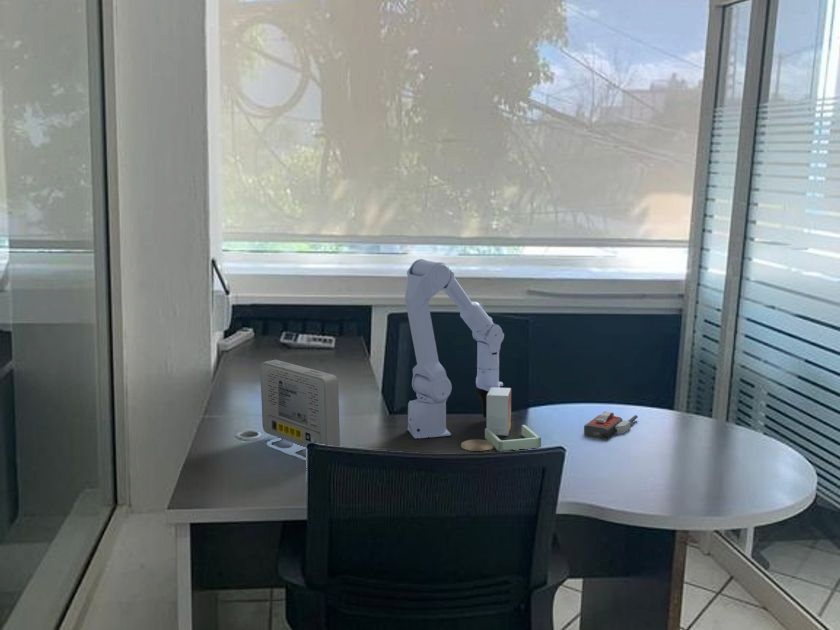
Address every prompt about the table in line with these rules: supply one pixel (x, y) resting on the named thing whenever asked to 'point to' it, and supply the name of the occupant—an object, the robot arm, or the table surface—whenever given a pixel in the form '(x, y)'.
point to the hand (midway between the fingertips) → (487, 417)
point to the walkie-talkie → (607, 425)
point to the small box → (499, 410)
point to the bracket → (515, 440)
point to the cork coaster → (477, 445)
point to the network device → (299, 404)
